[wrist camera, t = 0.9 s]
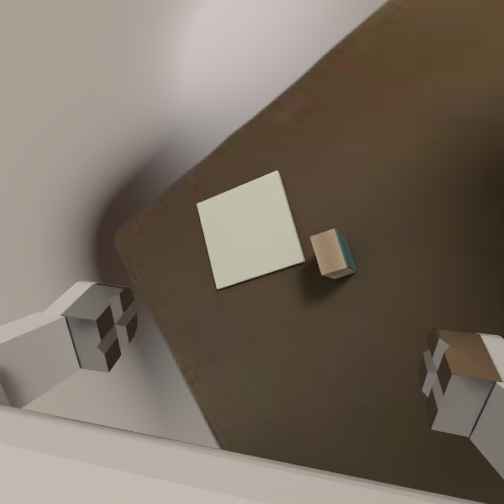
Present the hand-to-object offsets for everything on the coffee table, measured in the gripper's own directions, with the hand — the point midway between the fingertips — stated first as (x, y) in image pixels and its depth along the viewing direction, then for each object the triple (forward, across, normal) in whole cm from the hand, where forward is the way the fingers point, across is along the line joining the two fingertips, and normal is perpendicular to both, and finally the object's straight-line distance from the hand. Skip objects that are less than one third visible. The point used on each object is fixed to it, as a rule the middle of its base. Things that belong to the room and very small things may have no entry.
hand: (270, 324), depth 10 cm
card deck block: (+31, -4, +15) cm, 34 cm away
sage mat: (+34, +8, +14) cm, 38 cm away
